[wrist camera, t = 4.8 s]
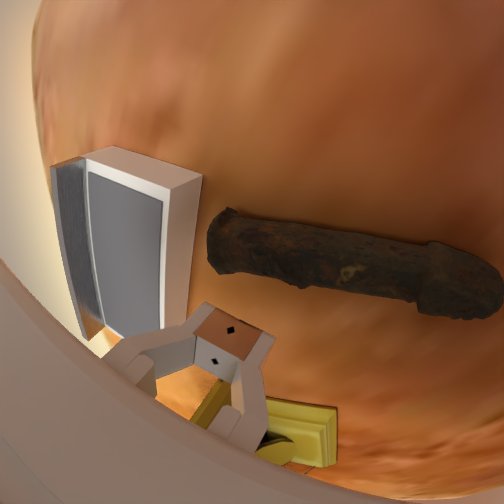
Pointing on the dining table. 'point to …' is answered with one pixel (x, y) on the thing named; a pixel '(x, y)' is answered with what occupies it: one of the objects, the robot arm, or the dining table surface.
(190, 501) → the robot arm
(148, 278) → the grey open box
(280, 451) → the vintage telephone
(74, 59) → the dining table surface
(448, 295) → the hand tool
